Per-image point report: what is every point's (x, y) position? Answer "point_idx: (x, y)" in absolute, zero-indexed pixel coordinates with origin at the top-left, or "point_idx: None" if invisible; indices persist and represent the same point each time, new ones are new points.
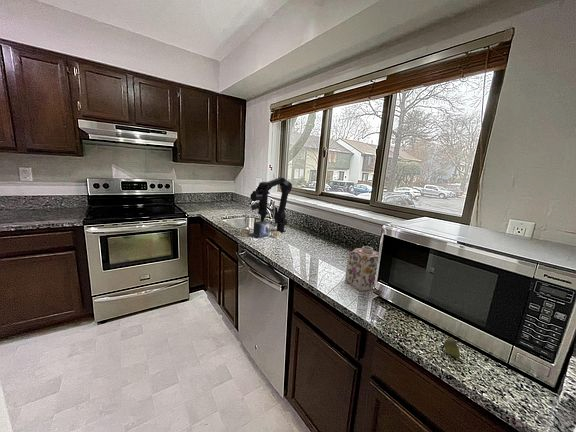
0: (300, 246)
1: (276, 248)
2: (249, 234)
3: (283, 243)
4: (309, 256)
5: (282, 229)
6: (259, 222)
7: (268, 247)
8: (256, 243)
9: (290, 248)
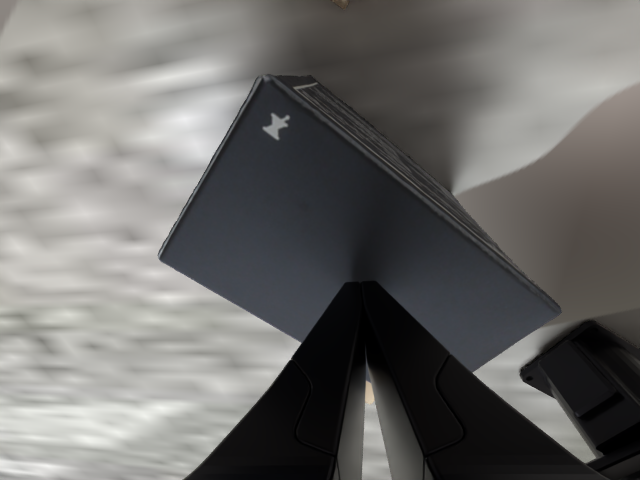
0: (174, 456)
1: (34, 334)
2: (338, 2)
3: (186, 377)
4: (25, 472)
5: (562, 407)
6: (311, 233)
7: (14, 280)
8: (51, 163)
9: (97, 409)
